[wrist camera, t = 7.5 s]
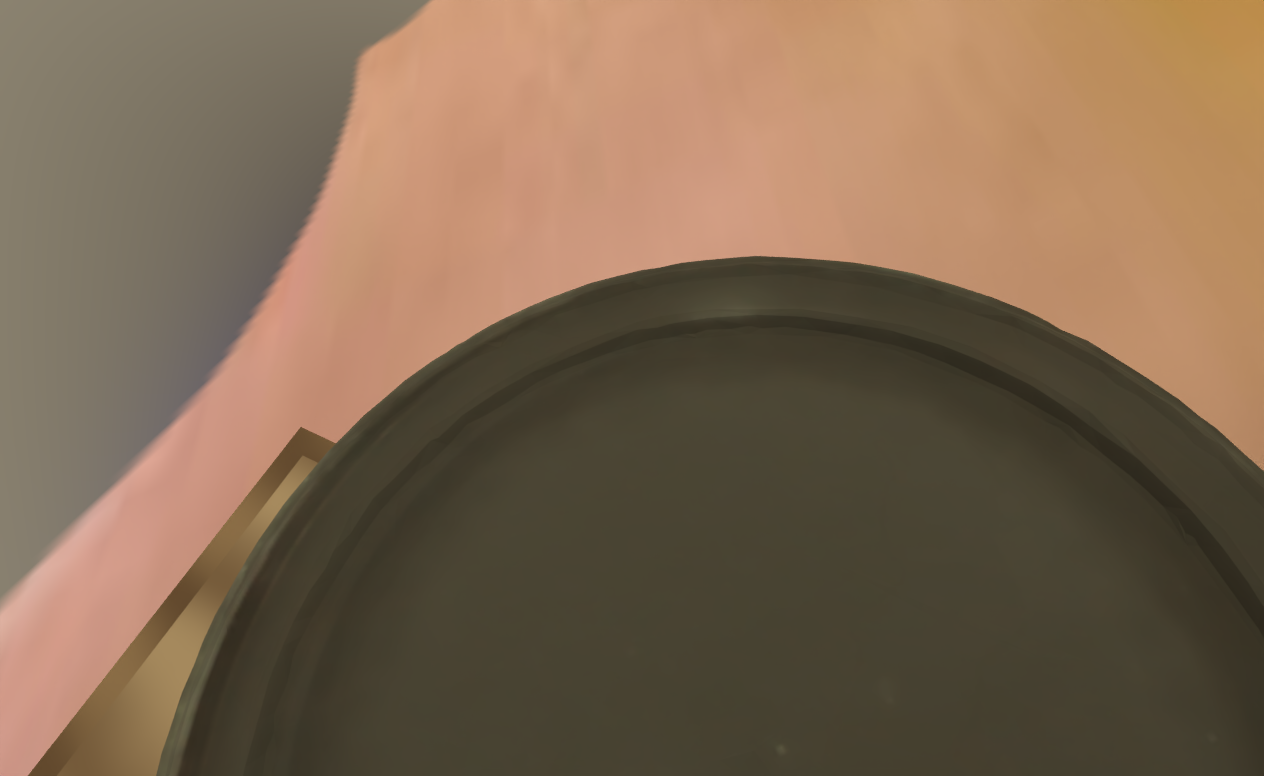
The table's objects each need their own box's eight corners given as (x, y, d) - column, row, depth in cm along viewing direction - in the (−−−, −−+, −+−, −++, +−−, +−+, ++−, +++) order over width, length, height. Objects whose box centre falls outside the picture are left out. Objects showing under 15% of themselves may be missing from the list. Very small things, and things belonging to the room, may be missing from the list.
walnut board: (326, 456, 35) (299, 425, 33) (646, 608, 30) (639, 584, 28) (56, 815, 28) (-1, 807, 26) (410, 1080, 24) (377, 1098, 21)
